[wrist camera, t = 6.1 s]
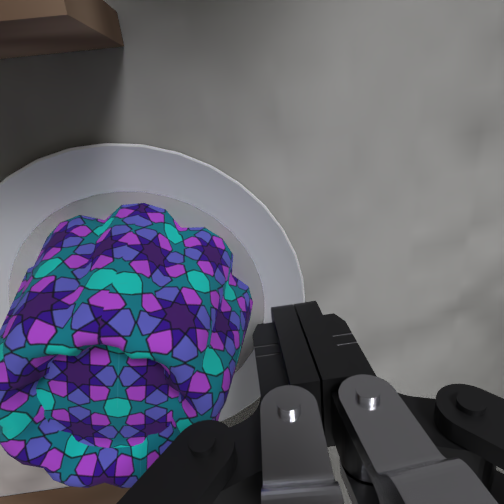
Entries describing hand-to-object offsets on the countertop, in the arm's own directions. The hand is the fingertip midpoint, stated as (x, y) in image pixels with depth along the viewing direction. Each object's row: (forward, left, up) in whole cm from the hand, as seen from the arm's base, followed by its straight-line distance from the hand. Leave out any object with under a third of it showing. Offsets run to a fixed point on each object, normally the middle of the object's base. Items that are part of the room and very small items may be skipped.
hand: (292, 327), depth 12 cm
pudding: (+5, -2, -2) cm, 6 cm away
